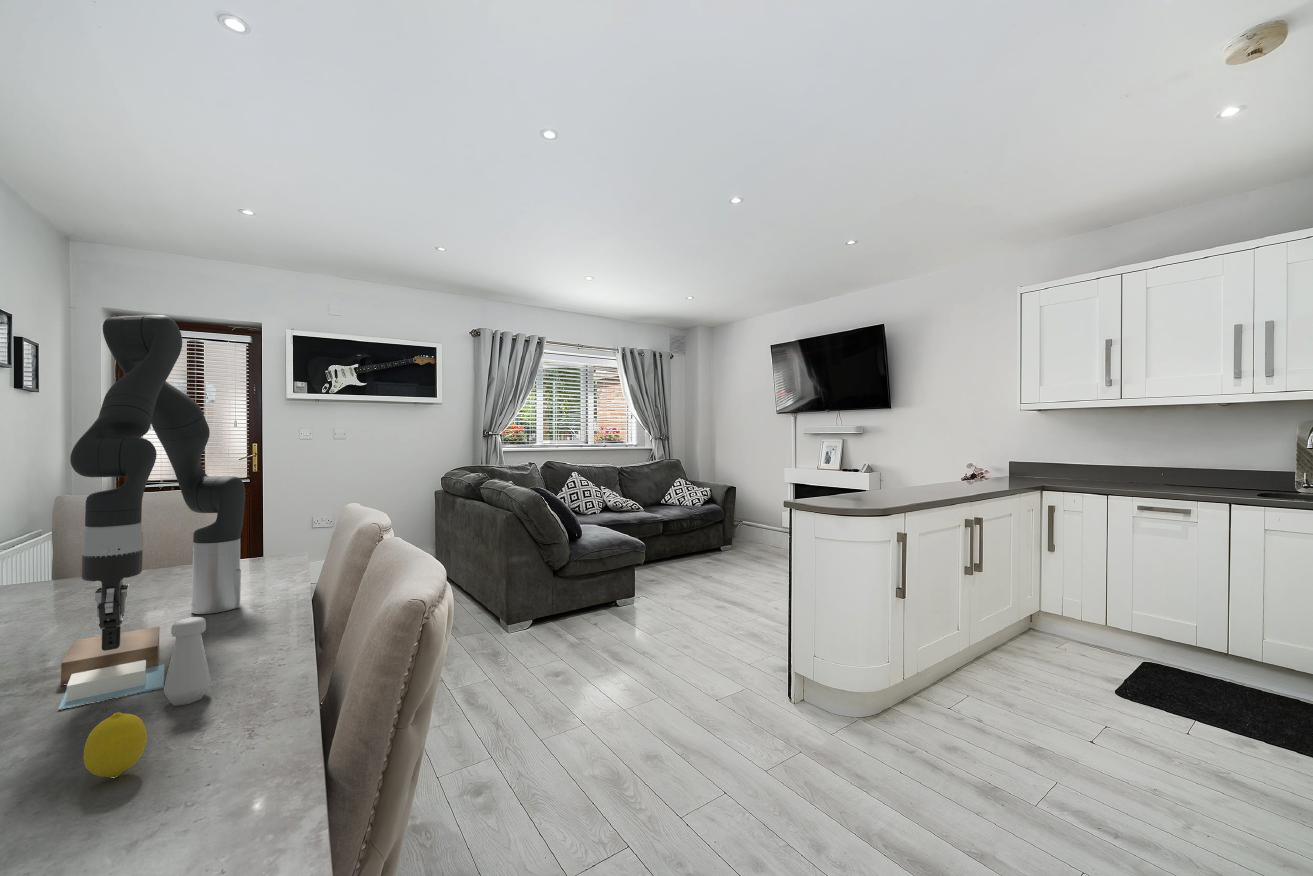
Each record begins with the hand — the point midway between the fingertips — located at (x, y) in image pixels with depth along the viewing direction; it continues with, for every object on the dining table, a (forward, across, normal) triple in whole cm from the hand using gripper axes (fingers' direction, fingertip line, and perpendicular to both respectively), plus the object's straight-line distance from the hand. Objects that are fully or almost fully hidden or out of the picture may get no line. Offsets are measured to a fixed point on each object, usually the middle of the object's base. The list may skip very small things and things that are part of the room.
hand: (111, 648), depth 94 cm
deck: (+5, +8, 0) cm, 10 cm away
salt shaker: (+6, -19, -10) cm, 22 cm away
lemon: (+6, -40, -3) cm, 41 cm away
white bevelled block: (+2, -5, 0) cm, 6 cm away
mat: (+5, -5, -1) cm, 7 cm away
